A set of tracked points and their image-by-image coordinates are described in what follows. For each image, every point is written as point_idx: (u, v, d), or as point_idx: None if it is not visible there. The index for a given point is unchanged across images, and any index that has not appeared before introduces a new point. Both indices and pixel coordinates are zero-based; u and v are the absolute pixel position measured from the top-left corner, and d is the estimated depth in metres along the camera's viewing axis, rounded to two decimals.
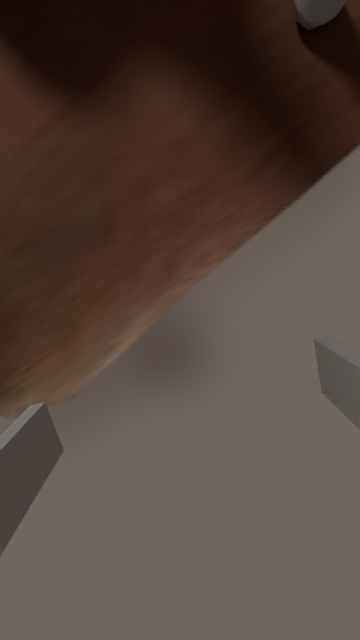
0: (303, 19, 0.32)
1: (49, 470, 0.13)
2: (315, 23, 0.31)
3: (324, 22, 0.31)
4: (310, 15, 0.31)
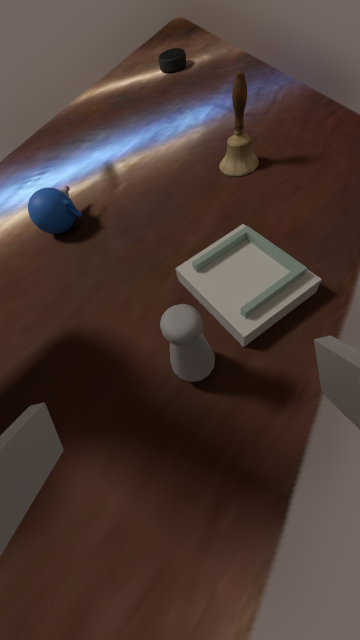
0: None
1: (49, 470, 0.13)
2: (199, 380, 0.35)
3: (206, 376, 0.35)
4: (191, 379, 0.35)
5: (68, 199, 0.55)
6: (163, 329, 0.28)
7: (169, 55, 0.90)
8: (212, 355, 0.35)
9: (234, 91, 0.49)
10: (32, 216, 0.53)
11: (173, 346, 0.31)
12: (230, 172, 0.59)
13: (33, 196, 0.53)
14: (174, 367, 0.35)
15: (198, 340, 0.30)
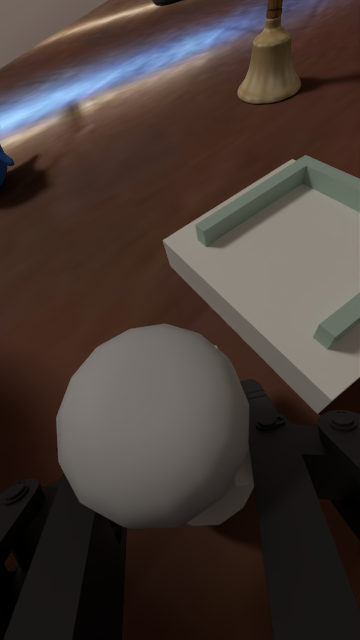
0: None
1: None
2: None
3: None
4: (196, 524, 0.13)
5: None
6: (61, 454, 0.06)
7: None
8: None
9: None
10: None
11: None
12: (256, 97, 0.36)
13: None
14: None
15: None
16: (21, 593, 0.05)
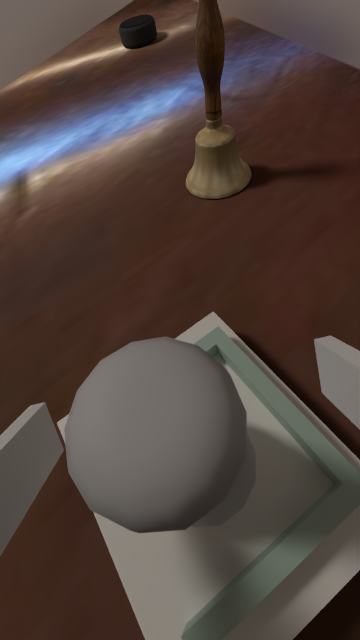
0: None
1: (49, 470, 0.13)
2: (219, 523, 0.13)
3: None
4: (198, 525, 0.13)
5: None
6: (71, 464, 0.06)
7: (132, 23, 0.66)
8: (251, 458, 0.13)
9: (198, 36, 0.24)
10: None
11: None
12: (202, 192, 0.34)
13: None
14: None
15: None
16: None
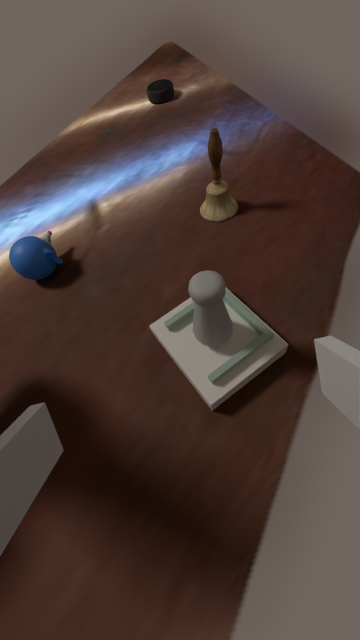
0: None
1: (49, 470, 0.13)
2: (219, 344, 0.39)
3: None
4: (212, 343, 0.39)
5: (49, 247, 0.56)
6: (192, 291, 0.32)
7: (157, 87, 0.91)
8: (230, 321, 0.39)
9: (209, 147, 0.50)
10: (12, 265, 0.54)
11: (198, 310, 0.35)
12: (209, 217, 0.59)
13: (14, 246, 0.54)
14: (197, 333, 0.39)
15: (221, 303, 0.34)
16: None
